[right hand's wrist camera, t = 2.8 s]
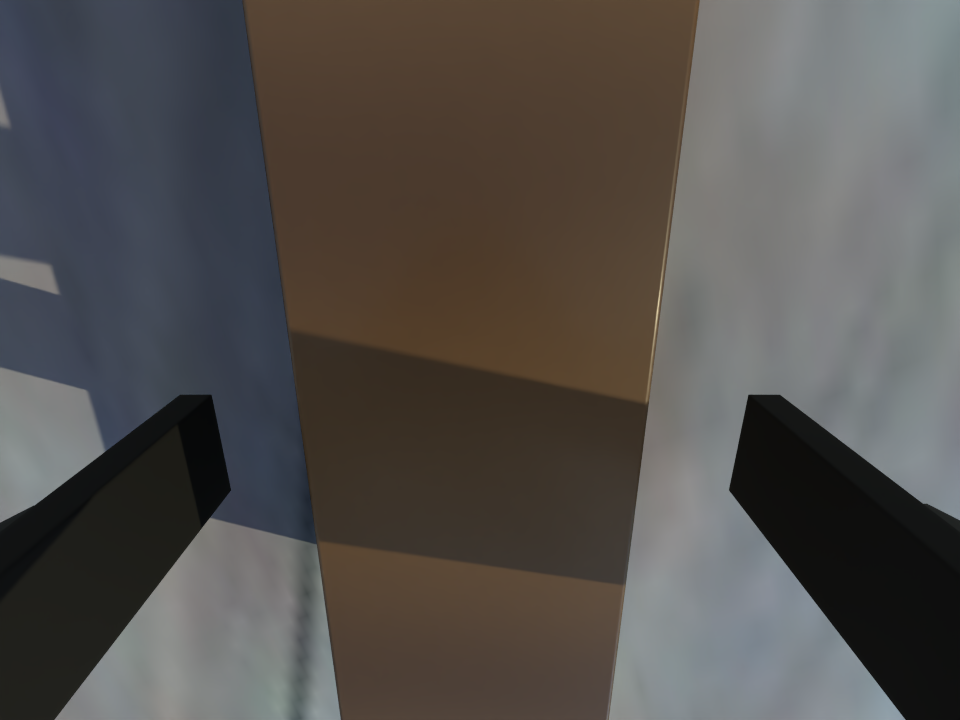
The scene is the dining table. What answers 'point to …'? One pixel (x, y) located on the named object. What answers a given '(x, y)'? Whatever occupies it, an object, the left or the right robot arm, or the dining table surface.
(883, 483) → the right robot arm
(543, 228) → the bar
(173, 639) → the dining table surface
